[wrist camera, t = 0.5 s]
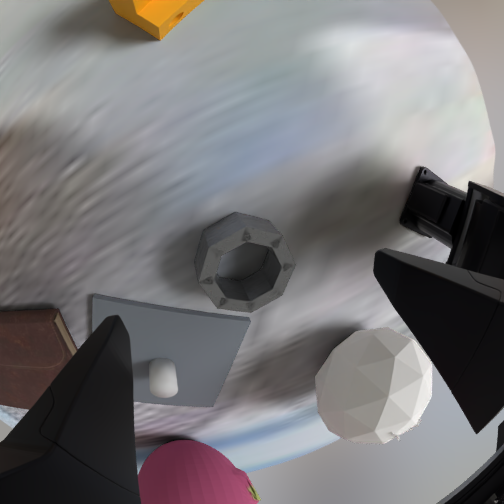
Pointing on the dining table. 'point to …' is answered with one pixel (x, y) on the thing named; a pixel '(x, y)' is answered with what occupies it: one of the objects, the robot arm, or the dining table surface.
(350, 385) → the geodesic sphere
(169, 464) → the pink dragon fruit
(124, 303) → the gray square plate
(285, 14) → the dining table surface
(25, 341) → the notebook
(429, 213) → the robot arm
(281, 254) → the ring
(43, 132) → the dining table surface
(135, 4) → the pipe clamp
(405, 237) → the dining table surface
